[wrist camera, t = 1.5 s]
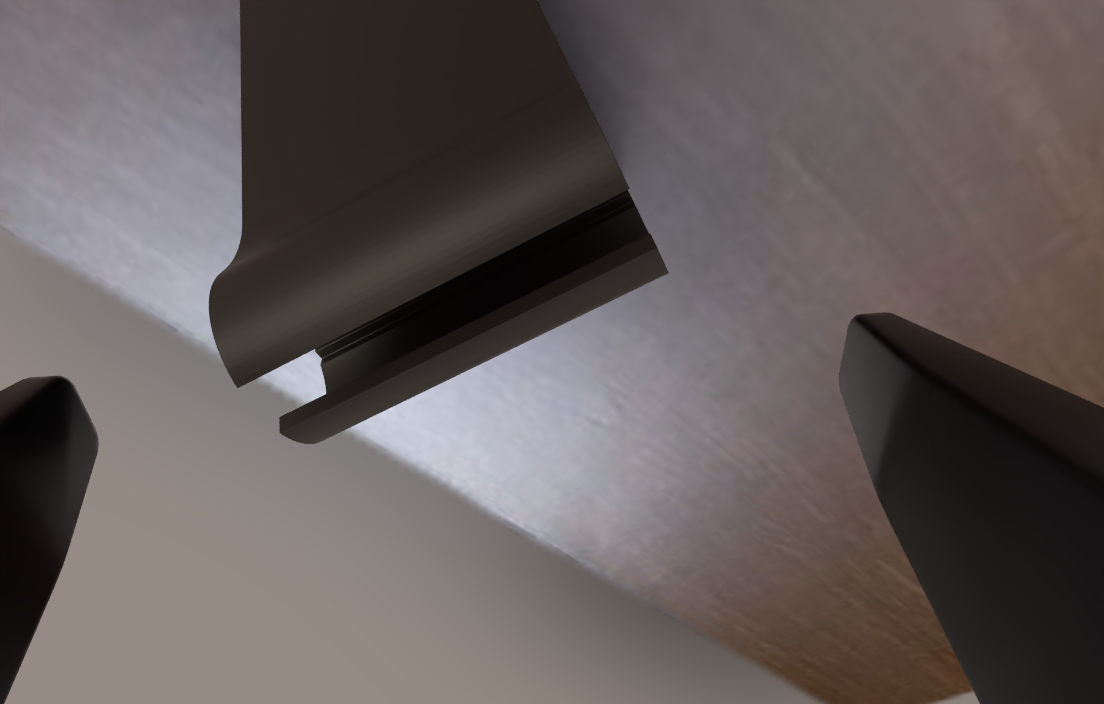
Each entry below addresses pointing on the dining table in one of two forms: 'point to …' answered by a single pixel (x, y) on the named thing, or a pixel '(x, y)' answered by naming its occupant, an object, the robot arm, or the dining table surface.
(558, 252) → the phone stand
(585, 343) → the dining table surface
